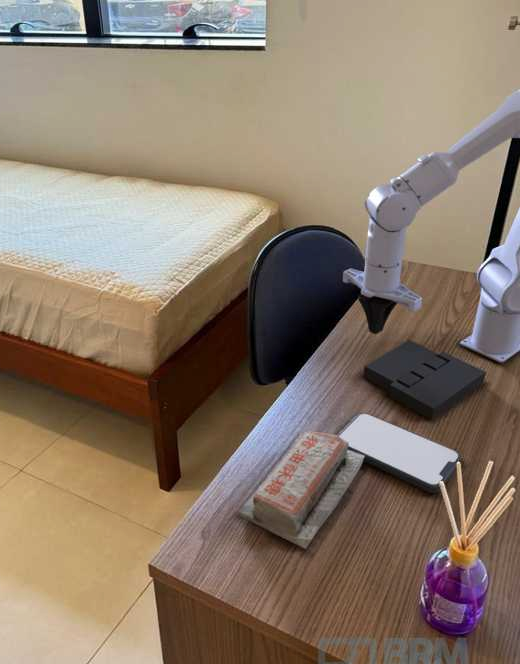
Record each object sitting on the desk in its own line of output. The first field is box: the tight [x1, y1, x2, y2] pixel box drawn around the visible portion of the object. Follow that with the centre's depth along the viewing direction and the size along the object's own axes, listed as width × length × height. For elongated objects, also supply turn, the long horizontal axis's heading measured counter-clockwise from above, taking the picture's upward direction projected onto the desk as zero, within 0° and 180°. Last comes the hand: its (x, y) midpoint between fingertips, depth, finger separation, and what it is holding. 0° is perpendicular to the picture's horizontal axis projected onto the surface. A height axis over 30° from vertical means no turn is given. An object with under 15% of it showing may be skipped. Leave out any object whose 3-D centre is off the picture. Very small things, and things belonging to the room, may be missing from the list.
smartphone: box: [336, 412, 462, 494], centre depth 88 cm, size 9×2×16 cm
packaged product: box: [238, 430, 365, 550], centre depth 82 cm, size 18×5×10 cm
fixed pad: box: [388, 351, 487, 421], centre depth 99 cm, size 14×8×2 cm, turn 127°
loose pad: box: [362, 339, 447, 392], centre depth 103 cm, size 12×8×2 cm
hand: (375, 330), depth 106 cm, fingers closed
